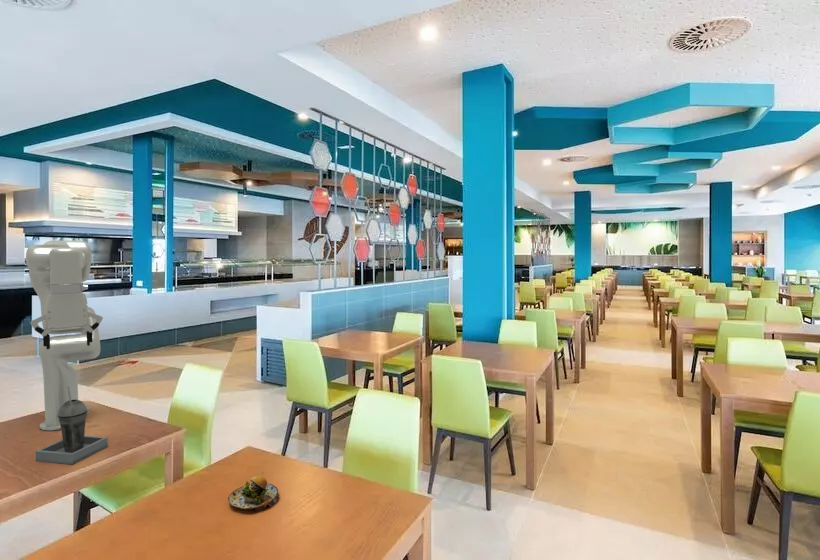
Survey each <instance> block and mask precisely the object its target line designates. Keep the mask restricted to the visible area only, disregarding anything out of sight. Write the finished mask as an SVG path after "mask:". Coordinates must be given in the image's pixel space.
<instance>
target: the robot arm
mask: <svg viewBox="0 0 820 560" xmlns="http://www.w3.org/2000/svg"><path fill="white" fill-rule="evenodd" d="M92 258H93V256H92V248H91V246H90V245H89V244H88V243H87V242H86V241H83V240H60V239H59V240H56V239H55V240H50V241H47V242H45V243H43V244H35V245H34V244H33V245H30V246H28V248H27V250H26V251H25V262H26V266H27V268H28V274H29V280H30V283H31V286H32V289H34V292H35V293H36V294H37V296H38V297H37V298H38V299H39V301H40V312H41V313H40V314H41V316H39V317H36V318H35V319H32V320H31V321H30V322H29V324H30V325H31V327H32V328H33V329H34V331H35V332H36V333H39V334H40V335H41V336H42V340H41V341H40V342H39V345H38V353H39V359H40V362H41V367H42V376H43V377H42V378H43V379H42V380H43V395H44V397H43V398H44V400H43V401H44V421H43V422H41V423H40V424H39V429H41V430H42V431H58V430H59V431H61V425H60V422H59V417H58V412H59V409H60V407H61V406H62V405H63V404H64V403H65V402H67V401H69V396H68V389H67V387H69V388H70V394H71V400H79V388H78V387H79V386H78V385H79V384H78V381H79V380H78V371H76V369H75V368H74V367H72V366H71V365H69V363H72V362H77V361H78V362H79V361H85V360H93V359H96V358H97V357H99V356H100V354H101V339H100V332H99V326H100V324H101V323H102V321H103V316H101V315H98V314H96V311H95V310H94V309H93V308H92V307H90V306H88V305H89V304H88V299H87V295H86V293H83V292H84V291H85V290H86V291H87V290H89V286H88V284H87V285H85V284H82V283H84V282H86V281H87V280H88V279H89V277H90V274H91V273H90V272H91V266H92ZM39 323H41V325H42V327H40V325H39ZM51 335H54V336H51ZM85 406H86V408H87V412H88V411H90V410H91V406H90V405H85Z"/></svg>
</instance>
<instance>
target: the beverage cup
mask: <svg viewBox="0 0 820 560" xmlns="http://www.w3.org/2000/svg"><path fill="white" fill-rule="evenodd" d="M67 389H68V396H69V401H67V402H65V403H64V404H63V405H62V406H61V407H60V409H59V412H58V417H59V422H60V425H61V429H60V431H61V435H62V436H61V438H62V440H63V445H64V450H65V453H74V452H76V451H78V450H80V449H82V448H83V445H84V436H85V432H86V419H87V416H88V411H87V408H86V406H87V405H86V404H85V403H84V402H83V401H81V400H79V399H78V400H71V394H70V388H69V387H67Z"/></svg>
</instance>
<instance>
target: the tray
mask: <svg viewBox="0 0 820 560" xmlns="http://www.w3.org/2000/svg"><path fill="white" fill-rule="evenodd" d="M108 447H109V439H108V437H106V436H94V435H84V445H83V448H82V449H80V450H78V451H76V452H74V453H65V450H64V445H63V439H61V440H59V441H56V442H54V443H52V444H49V445H47V446H45V447H42V448H40V449H37V450H35V453H34V454H35V462H39V463H40V462H41V463H50V464H61V465H62V464H63V465H71V466H72V465H75V464H77V463H79V462H81V461H83V460H85V459H87V458H89V457H90V456H92V455H95V454H96V453H98V452H100V451H102V450H105V449H106V448H108Z"/></svg>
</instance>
